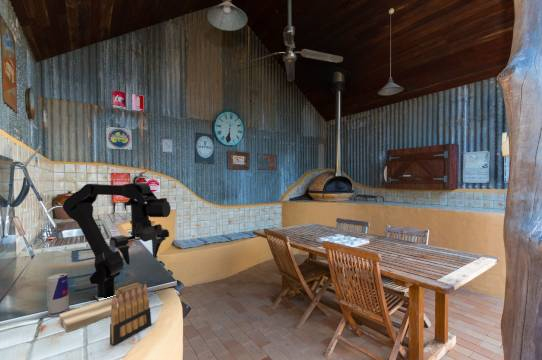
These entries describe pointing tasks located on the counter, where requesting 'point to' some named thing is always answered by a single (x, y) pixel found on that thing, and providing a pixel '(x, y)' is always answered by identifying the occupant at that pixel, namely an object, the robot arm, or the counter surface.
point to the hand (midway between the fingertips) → (141, 261)
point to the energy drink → (57, 294)
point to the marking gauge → (129, 291)
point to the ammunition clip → (129, 316)
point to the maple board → (87, 314)
